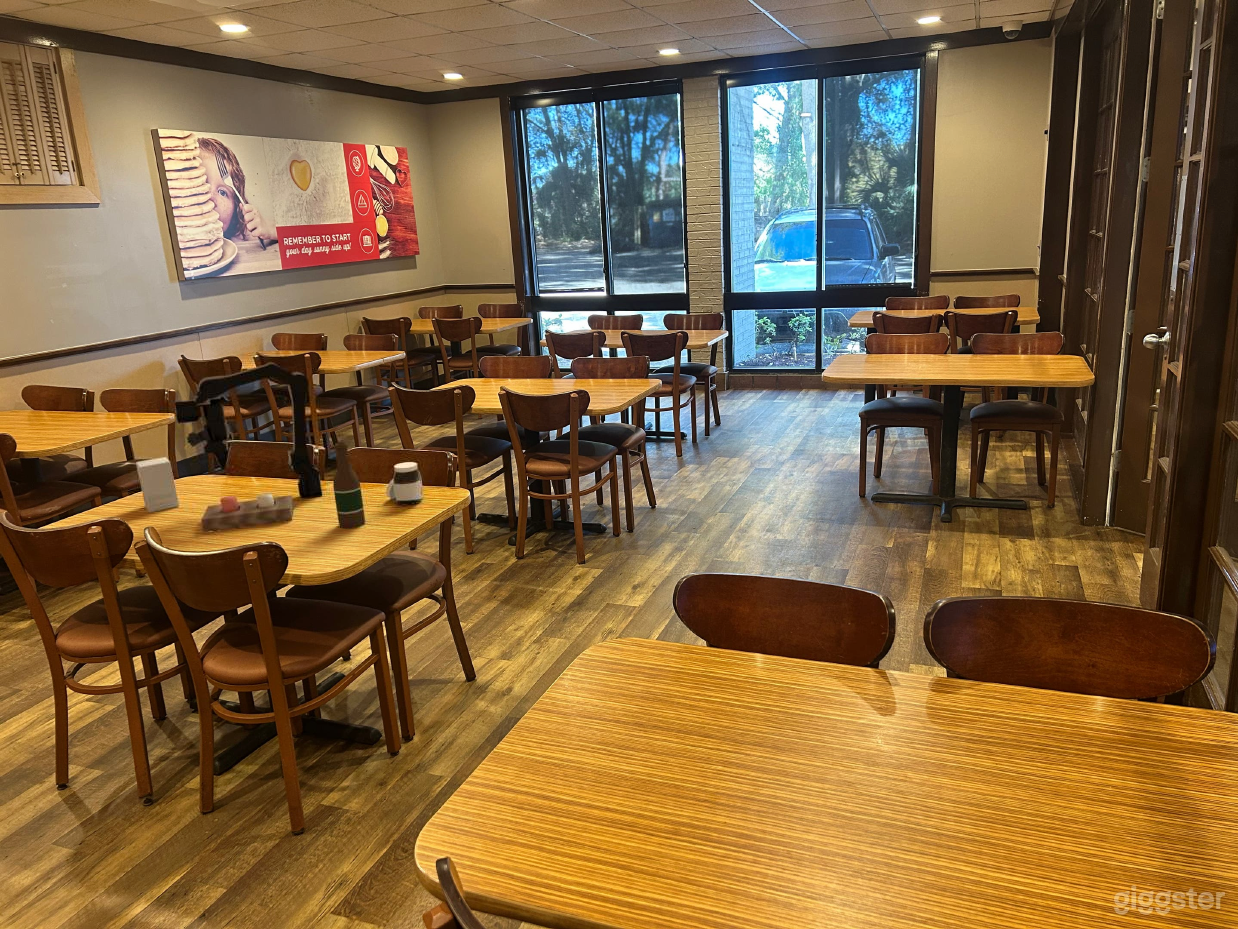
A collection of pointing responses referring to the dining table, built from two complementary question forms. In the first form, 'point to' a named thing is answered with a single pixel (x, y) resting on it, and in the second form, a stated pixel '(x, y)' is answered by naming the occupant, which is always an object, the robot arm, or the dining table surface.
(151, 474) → the supplement box
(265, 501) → the grey plunger
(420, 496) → the spread jar
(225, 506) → the red plunger
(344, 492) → the beer bottle
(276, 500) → the press panel
